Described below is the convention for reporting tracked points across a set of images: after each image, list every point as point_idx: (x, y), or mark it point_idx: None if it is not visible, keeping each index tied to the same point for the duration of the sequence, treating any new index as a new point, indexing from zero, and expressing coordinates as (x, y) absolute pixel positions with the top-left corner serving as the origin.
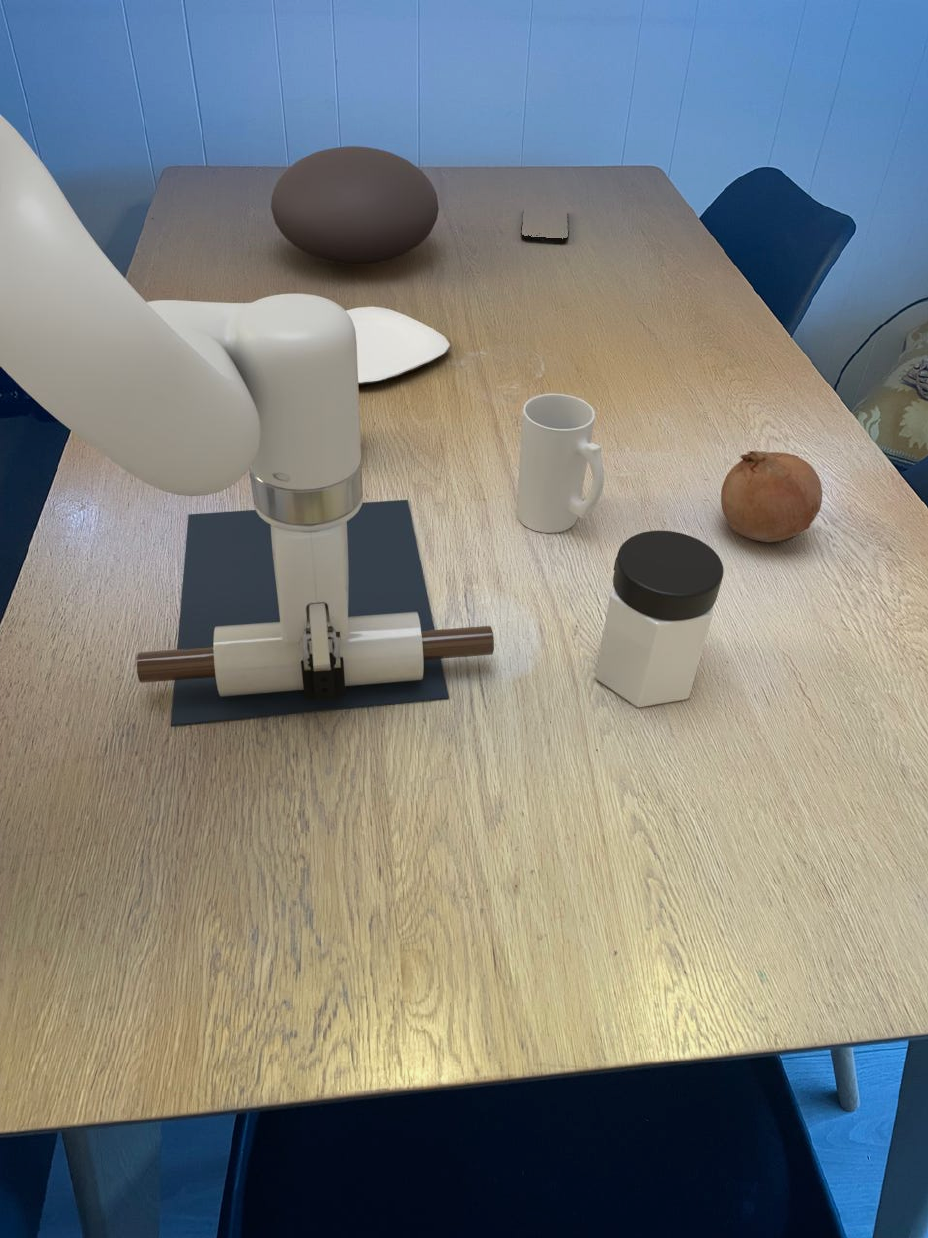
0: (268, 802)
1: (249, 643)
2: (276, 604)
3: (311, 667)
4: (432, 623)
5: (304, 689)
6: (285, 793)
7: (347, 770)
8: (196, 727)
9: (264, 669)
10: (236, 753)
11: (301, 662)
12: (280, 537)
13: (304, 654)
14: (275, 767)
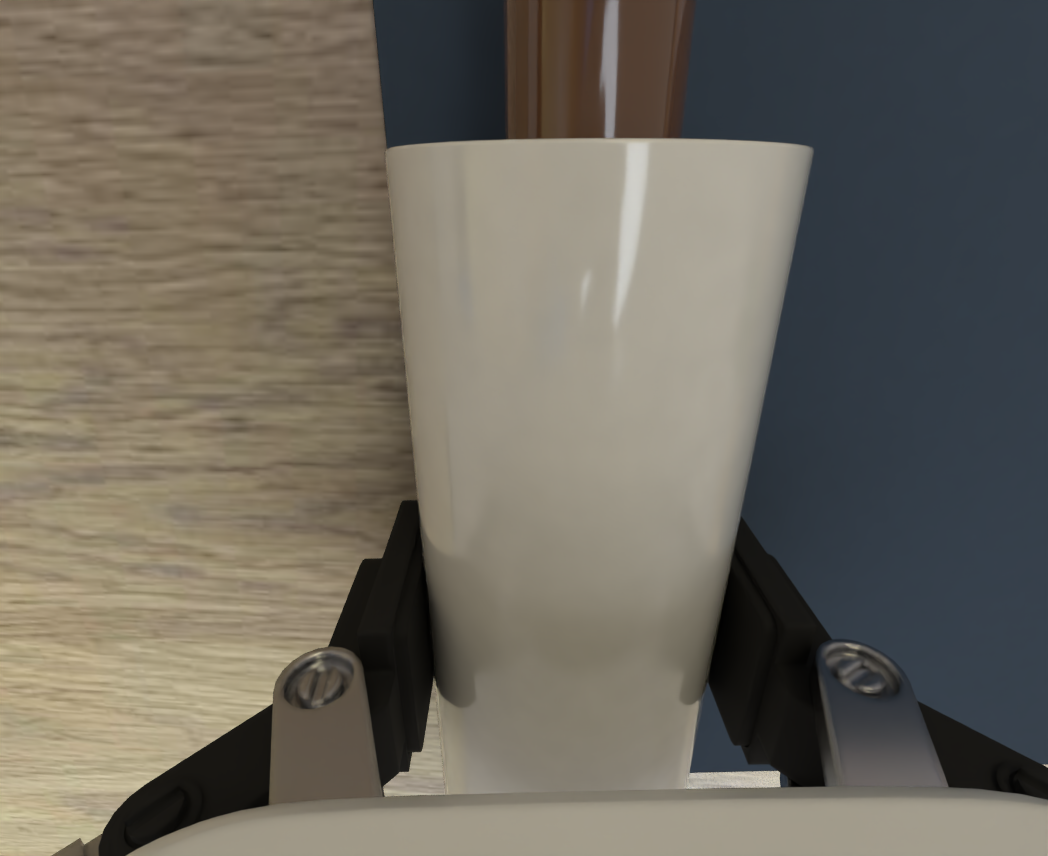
0: (21, 339)
1: (527, 401)
2: (995, 375)
3: (109, 825)
4: (722, 769)
5: (391, 532)
6: (71, 392)
7: (191, 559)
8: (360, 34)
9: (415, 431)
10: (227, 222)
11: (374, 636)
12: None
13: (276, 759)
14: (176, 362)
